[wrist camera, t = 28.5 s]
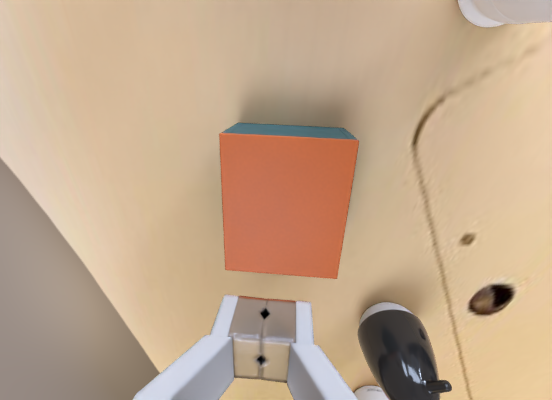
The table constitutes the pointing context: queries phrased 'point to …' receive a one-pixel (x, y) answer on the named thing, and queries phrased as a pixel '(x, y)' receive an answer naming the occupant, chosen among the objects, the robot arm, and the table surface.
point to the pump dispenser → (400, 353)
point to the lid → (285, 202)
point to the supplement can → (370, 393)
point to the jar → (506, 11)
